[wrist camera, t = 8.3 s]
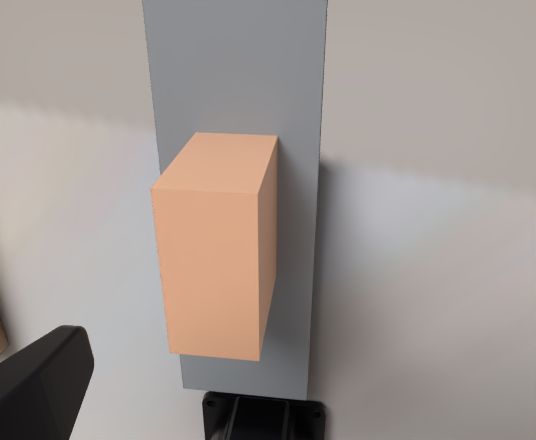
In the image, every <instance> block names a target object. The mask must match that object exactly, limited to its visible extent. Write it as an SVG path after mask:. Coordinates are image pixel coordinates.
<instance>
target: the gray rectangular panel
mask: <svg viewBox="0 0 536 440" xmlns="http://www.w3.org/2000/svg"><path fill="white" fill-rule="evenodd" d="M327 2H328V0H142V4H143V13H144V23H145V32H146V41H147V50H148V60H149V69H150V78H151V87H152V98H153V107H154V117H155V126H156V136H157V145H158V154H159V164H160V173H161V176H160V177H159V178H158V180H157V181H156V182H155V183H154V185H153V186H152V187H151V197H152V205H153V214H154V222H155V231H156V239H157V248H158V256H159V264H160V273H161V281H162V290H163V298H164V307H165V315H166V324H167V332H168V341H169V349H170V353H175V354H180V362H181V371H182V380H183V388H186V389H196V390H206V391H216V392H226V393H236V394H246V395H257V396H267V397H277V398H287V399H297V400H306V398H307V384H308V368H309V349H310V330H311V311H312V291H313V272H314V253H315V233H316V214H317V195H318V176H319V156H320V136H321V118H322V97H323V79H324V59H325V40H326V21H327Z"/></svg>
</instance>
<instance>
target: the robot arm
mask: <svg viewBox="0 0 536 440" xmlns="http://www.w3.org/2000/svg"><path fill="white" fill-rule="evenodd" d="M93 369H94V357H93V354H92V350H91V346H90V342H89V339H88V335H87V332H86V330H85V328H84V327H81V326H73V325H62V326H59V327H57V328H56V329H54V330H53V331H51V332H49V333H48V334H46V335H44V336H43V337H41V338H40V339H38V340H36V341H35V342H33V343H31V344H30V345H28V346H27V347H25V348H23V349H22V350H20V351H19V352H17V353H15V354H14V355H12V356H10V357H9V358H7V359H6V360H4V361H2V362H1V363H0V440H69V438H70V436H71V433H72V430H73V427H74V424H75V421H76V419H77V416H78V413H79V410H80V407H81V404H82V402H83V399H84V396H85V393H86V390H87V388H88V385H89V382H90V379H91V376H92V373H93ZM213 401H214V402H213ZM202 406H203V418H204V430H205V440H324V431H325V418H326V407H325V406H324V404H322V403H320V402H316V401H306V400H295V399H285V398H275V397H265V396H255V395H245V394H235V393H225V392H215V391H209V392H207V393H206V394H205V395H204V398H203V402H202ZM314 411H318V412H314Z"/></svg>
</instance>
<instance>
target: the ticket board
mask: <svg viewBox="0 0 536 440" xmlns="http://www.w3.org/2000/svg"><path fill="white" fill-rule="evenodd" d="M7 346H8V342H7V339H6V335H5V332H4V329H3V326H2V323H1V319H0V354H1V353H2V352H3V351H4V350H5V348H6V347H7Z"/></svg>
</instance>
